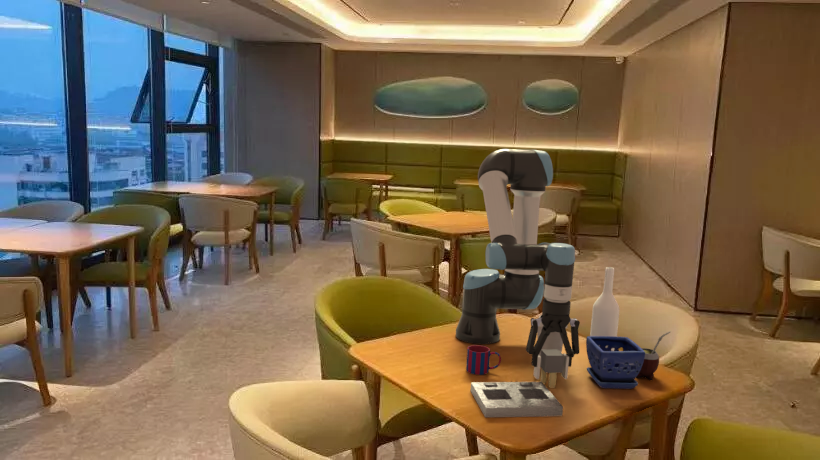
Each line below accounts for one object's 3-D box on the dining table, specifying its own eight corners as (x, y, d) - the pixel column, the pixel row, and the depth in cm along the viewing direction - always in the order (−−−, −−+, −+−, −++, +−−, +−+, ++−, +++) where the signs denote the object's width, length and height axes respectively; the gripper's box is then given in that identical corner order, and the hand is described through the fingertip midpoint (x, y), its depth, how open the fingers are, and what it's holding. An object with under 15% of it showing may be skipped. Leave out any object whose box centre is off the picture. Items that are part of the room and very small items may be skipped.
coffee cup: (564, 372, 192) (568, 324, 190) (532, 368, 194) (536, 320, 191) (563, 361, 201) (567, 315, 199) (532, 357, 203) (536, 312, 201)
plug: (538, 381, 184) (540, 349, 183) (554, 380, 185) (557, 349, 184) (544, 388, 179) (547, 355, 178) (561, 387, 180) (564, 355, 179)
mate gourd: (627, 373, 194) (632, 325, 191) (648, 371, 196) (653, 323, 194) (644, 382, 187) (649, 333, 184) (665, 380, 190) (671, 331, 187)
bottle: (599, 365, 199) (608, 271, 194) (582, 356, 206) (591, 265, 201) (619, 363, 202) (629, 270, 197) (602, 354, 209) (611, 264, 205)
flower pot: (643, 392, 180) (647, 351, 178) (597, 391, 179) (601, 350, 177) (624, 374, 193) (628, 336, 191) (581, 373, 192) (584, 335, 190)
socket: (470, 391, 175) (471, 381, 174) (540, 390, 178) (541, 380, 177) (485, 417, 159) (486, 406, 159) (562, 416, 162) (563, 405, 162)
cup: (469, 365, 194) (470, 343, 193) (501, 370, 191) (503, 348, 190) (463, 372, 188) (465, 350, 187) (497, 378, 185) (498, 355, 184)
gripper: (525, 302, 173) (519, 382, 177) (597, 303, 176) (589, 382, 180) (517, 295, 180) (511, 372, 184) (586, 296, 183) (579, 371, 187)
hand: (550, 377), depth 182 cm, fingers open, 8 cm apart
